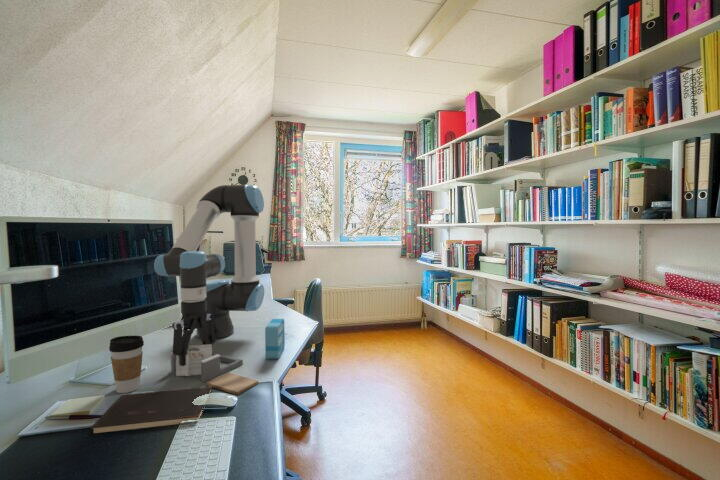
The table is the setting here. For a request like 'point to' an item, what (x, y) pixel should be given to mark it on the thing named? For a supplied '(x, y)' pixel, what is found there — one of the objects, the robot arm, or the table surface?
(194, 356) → the ink cartridge box
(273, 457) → the table surface
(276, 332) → the data package
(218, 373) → the grey u-shaped frame
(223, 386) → the walnut mat
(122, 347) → the coffee cup
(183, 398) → the hardcover book
